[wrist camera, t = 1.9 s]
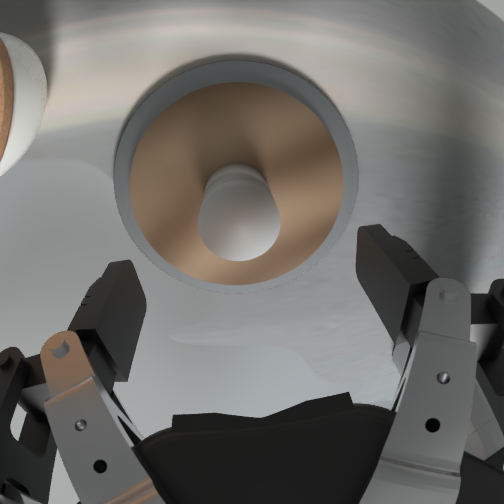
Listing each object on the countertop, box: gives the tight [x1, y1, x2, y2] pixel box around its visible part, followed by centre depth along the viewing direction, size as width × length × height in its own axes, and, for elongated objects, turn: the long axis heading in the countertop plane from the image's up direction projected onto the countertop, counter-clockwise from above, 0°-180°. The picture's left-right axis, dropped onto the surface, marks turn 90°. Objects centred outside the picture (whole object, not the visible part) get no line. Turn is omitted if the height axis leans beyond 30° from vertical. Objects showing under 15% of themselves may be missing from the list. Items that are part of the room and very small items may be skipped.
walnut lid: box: [129, 82, 344, 285], centre depth 17 cm, size 14×14×6 cm
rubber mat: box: [114, 60, 359, 294], centre depth 20 cm, size 17×17×1 cm
